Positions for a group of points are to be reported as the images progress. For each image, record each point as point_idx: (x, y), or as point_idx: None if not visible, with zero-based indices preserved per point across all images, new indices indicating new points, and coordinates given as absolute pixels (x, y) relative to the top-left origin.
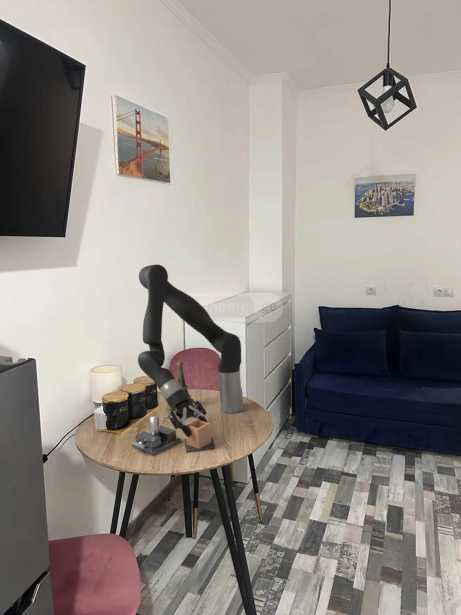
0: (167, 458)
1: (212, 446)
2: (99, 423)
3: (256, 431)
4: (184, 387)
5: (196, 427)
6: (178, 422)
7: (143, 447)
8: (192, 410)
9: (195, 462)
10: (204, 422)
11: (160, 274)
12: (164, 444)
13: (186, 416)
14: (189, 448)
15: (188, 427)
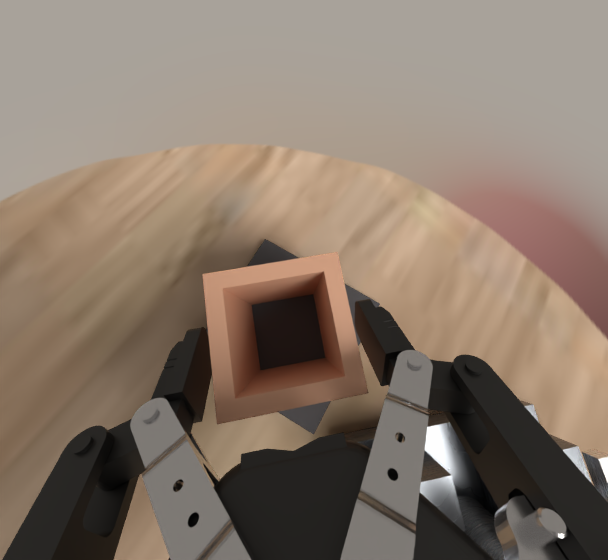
0: (466, 320)
1: (265, 256)
2: None
3: (7, 245)
4: None
5: (262, 383)
6: (480, 385)
7: (596, 452)
8: (229, 512)
9: (392, 208)
10: (218, 324)
11: None
12: (448, 433)
13: (354, 446)
14: (353, 317)
15: (358, 352)
